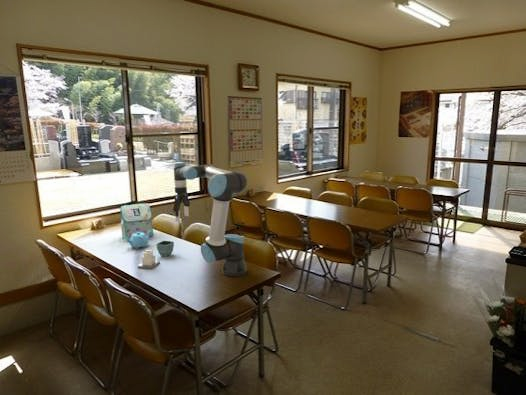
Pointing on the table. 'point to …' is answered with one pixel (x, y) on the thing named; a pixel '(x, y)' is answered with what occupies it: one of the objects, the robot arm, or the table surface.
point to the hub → (149, 265)
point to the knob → (146, 255)
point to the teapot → (138, 240)
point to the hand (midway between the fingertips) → (182, 218)
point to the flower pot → (165, 248)
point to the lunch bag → (135, 220)
